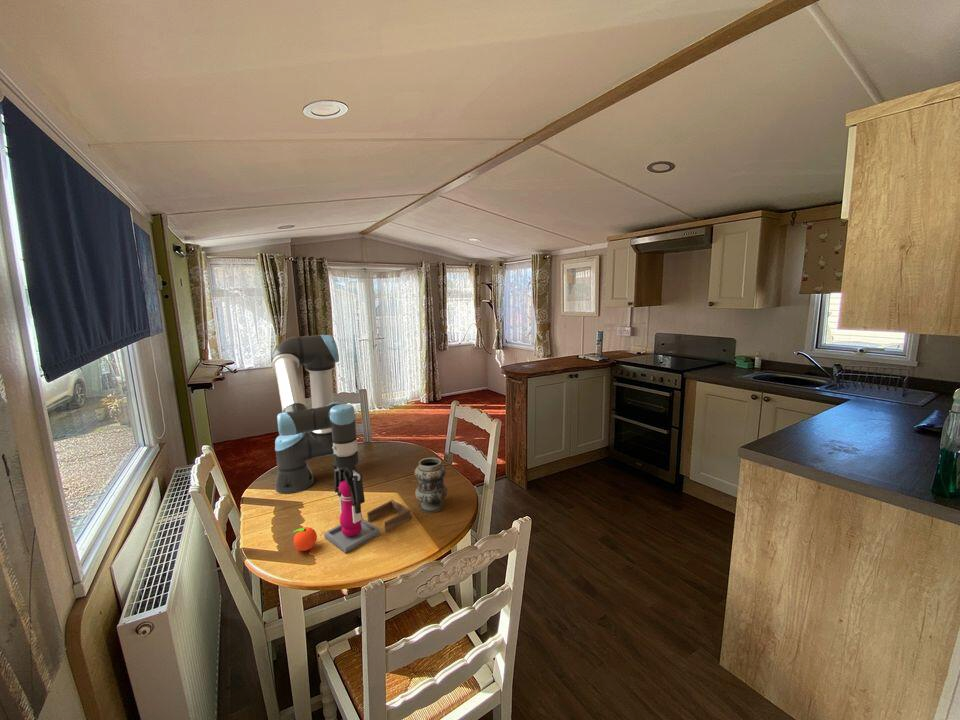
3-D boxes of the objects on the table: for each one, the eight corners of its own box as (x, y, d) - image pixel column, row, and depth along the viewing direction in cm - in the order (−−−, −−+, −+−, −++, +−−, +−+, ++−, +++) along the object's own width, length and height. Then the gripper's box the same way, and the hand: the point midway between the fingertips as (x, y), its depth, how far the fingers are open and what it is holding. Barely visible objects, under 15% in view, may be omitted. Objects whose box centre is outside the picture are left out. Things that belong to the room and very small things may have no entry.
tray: (324, 538, 134) (324, 532, 134) (358, 520, 144) (357, 515, 143) (345, 553, 126) (345, 548, 125) (380, 534, 135) (379, 528, 135)
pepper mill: (363, 535, 132) (358, 478, 129) (340, 539, 130) (335, 482, 127) (363, 523, 139) (359, 469, 135) (341, 526, 137) (336, 472, 133)
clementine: (287, 555, 125) (284, 535, 124) (297, 542, 132) (295, 522, 131) (312, 555, 125) (310, 534, 124) (321, 541, 132) (319, 522, 131)
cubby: (367, 521, 143) (367, 512, 143) (392, 508, 152) (392, 499, 151) (386, 532, 136) (386, 523, 136) (411, 518, 145) (411, 509, 144)
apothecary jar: (444, 495, 160) (442, 453, 157) (450, 511, 149) (449, 466, 146) (414, 500, 157) (412, 457, 154) (418, 516, 145) (415, 470, 142)
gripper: (319, 448, 133) (325, 512, 137) (352, 464, 120) (358, 533, 124) (339, 442, 139) (344, 502, 143) (373, 456, 126) (378, 522, 130)
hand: (350, 517), depth 133 cm, fingers closed on pepper mill, 7 cm apart
